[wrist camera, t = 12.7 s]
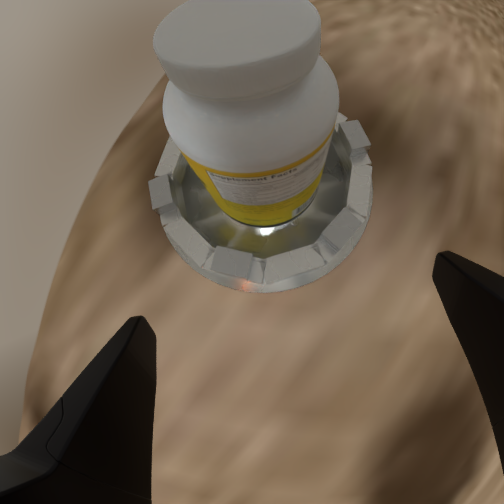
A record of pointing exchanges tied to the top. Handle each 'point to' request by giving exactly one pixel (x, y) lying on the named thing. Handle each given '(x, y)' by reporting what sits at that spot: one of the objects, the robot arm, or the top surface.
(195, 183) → the steel ashtray
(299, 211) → the pill bottle
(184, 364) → the top surface
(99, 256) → the top surface
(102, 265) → the top surface
